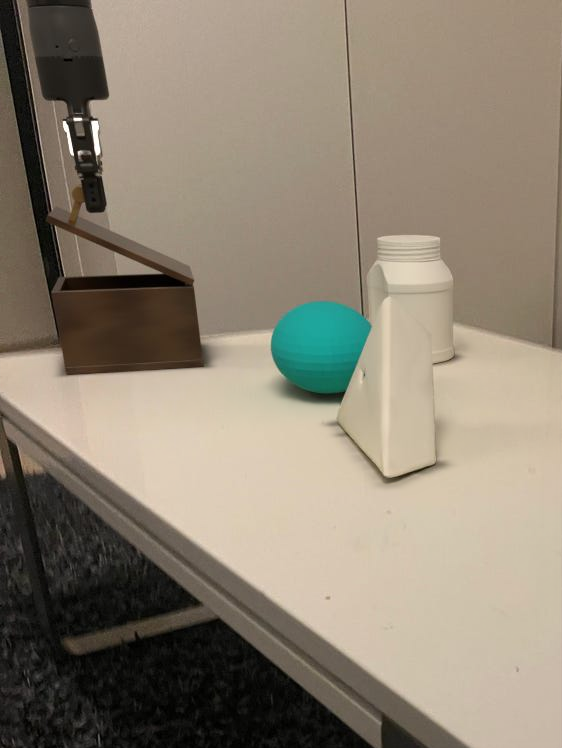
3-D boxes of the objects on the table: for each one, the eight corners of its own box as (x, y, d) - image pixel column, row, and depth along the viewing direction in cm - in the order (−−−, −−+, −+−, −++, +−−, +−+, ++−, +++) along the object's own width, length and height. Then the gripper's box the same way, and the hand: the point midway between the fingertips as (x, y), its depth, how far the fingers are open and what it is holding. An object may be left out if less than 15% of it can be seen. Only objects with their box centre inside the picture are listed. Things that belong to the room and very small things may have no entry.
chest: (66, 374, 124) (50, 292, 120) (72, 352, 136) (58, 276, 132) (203, 366, 129) (193, 286, 124) (198, 346, 140) (189, 272, 136)
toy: (393, 405, 112) (389, 313, 107) (278, 411, 109) (270, 317, 104) (372, 371, 127) (368, 289, 122) (271, 376, 124) (263, 292, 119)
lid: (45, 221, 116) (58, 179, 115) (54, 212, 128) (65, 173, 127) (192, 286, 124) (206, 247, 123) (187, 271, 136) (200, 236, 134)
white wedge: (478, 423, 85) (440, 313, 98) (414, 404, 82) (384, 294, 96) (413, 552, 94) (386, 435, 107) (353, 539, 91) (333, 420, 105)
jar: (362, 352, 137) (356, 236, 130) (423, 345, 142) (420, 232, 135) (399, 368, 129) (395, 244, 122) (463, 360, 133) (462, 240, 126)
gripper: (39, 57, 121) (69, 207, 129) (28, 50, 108) (61, 216, 116) (104, 57, 122) (129, 204, 130) (100, 50, 110) (128, 213, 118)
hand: (97, 209), depth 123 cm, fingers closed on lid, 6 cm apart
